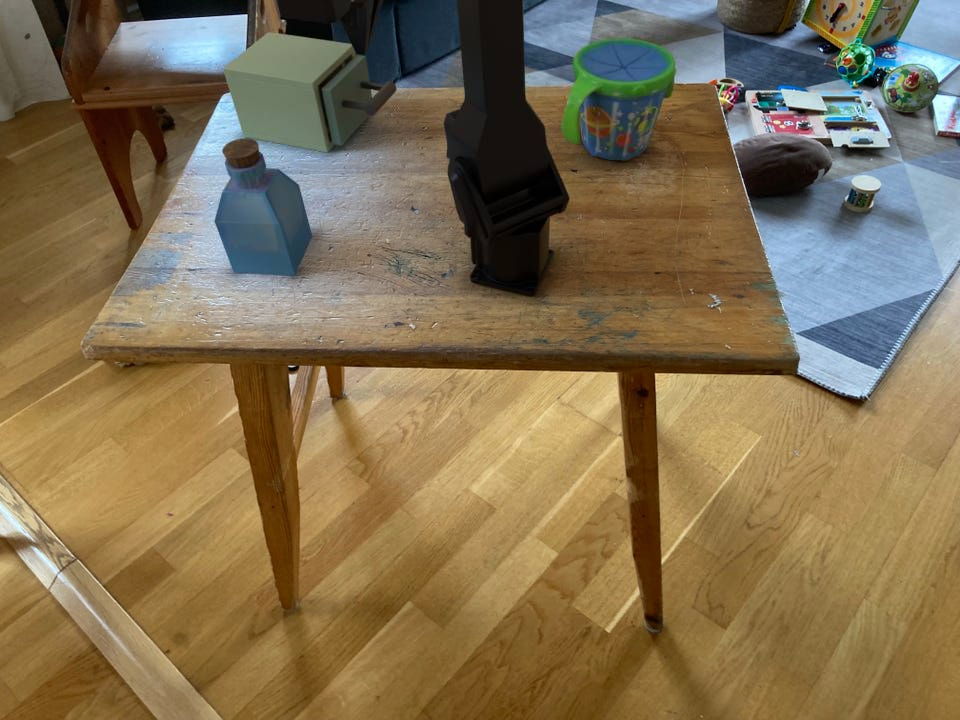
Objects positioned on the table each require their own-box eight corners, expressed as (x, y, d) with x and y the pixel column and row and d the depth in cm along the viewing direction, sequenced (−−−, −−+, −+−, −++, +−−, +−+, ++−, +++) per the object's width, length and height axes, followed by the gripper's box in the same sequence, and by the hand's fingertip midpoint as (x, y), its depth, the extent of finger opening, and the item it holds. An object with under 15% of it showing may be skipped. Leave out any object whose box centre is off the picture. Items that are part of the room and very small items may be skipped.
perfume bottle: (294, 276, 72) (262, 169, 63) (233, 272, 72) (193, 166, 64) (312, 236, 76) (284, 130, 67) (254, 233, 76) (219, 128, 68)
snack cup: (635, 105, 91) (646, 21, 83) (698, 143, 85) (715, 56, 77) (532, 147, 85) (534, 62, 78) (591, 190, 79) (598, 102, 72)
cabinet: (365, 112, 92) (353, 44, 86) (327, 153, 86) (312, 83, 80) (285, 98, 95) (268, 31, 89) (243, 136, 89) (222, 68, 83)
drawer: (406, 115, 89) (399, 60, 84) (375, 152, 84) (365, 96, 79) (300, 97, 93) (287, 44, 88) (264, 131, 88) (248, 76, 83)
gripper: (310, -146, 76) (337, 9, 88) (204, -86, 65) (251, 83, 76) (408, -139, 73) (423, 20, 85) (315, -75, 62) (346, 99, 73)
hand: (362, 53), depth 80 cm, fingers closed
